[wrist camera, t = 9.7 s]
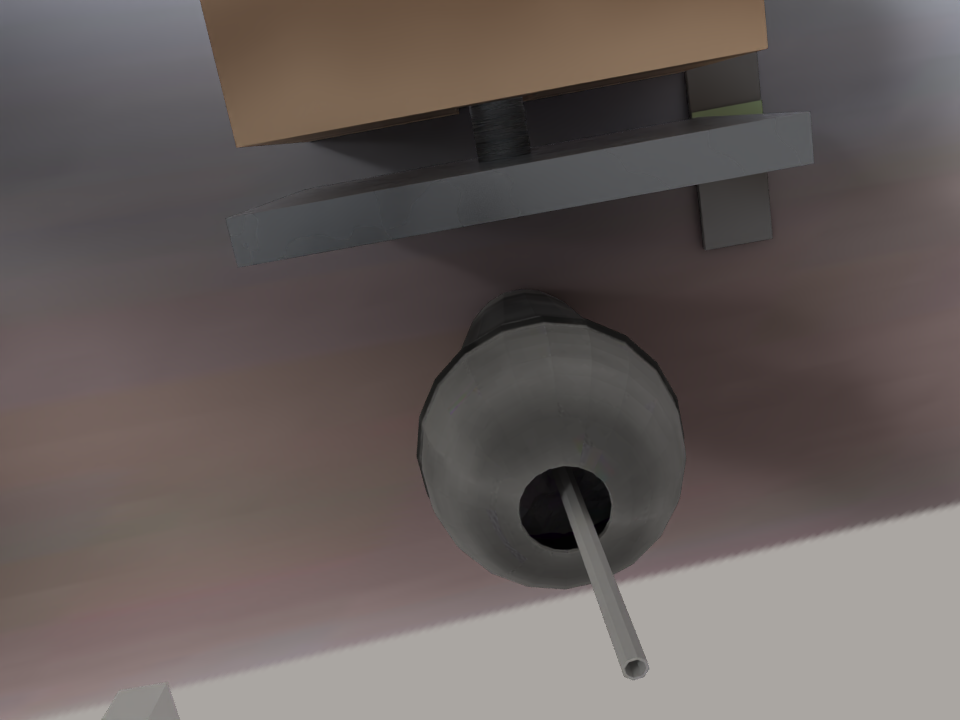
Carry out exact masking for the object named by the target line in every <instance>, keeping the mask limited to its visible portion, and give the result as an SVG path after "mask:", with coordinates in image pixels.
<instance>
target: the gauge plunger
mask: <svg viewBox="0 0 960 720" xmlns="http://www.w3.org/2000/svg"><path fill="white" fill-rule="evenodd" d="M469 109H470V115H471V121H472V127H473V132H474V138H475V144H476V149H477V155H478V158H473V159H468V160H462V161H457V162H452V163H446V164H441V165H435V166H430V167H424V168H419V169H414V170H408V171H403V172H397V173H392V174H386V175H381V176H375V177H370V178H365V179H359V180H354V181H348V182H343V183H337V184H332V185H327V186H321V187H316V188H310V189H305V190H302V191H300V192H297V193H294V194H291V195H289V196H286V197H283V198H280V199H278V200H275V201H272V202H269V203H267V204H264V205H261V206H258V207H256V208H253V209H250V210H247V211H245V212H242V213H239V214H236V215H234V216H231V217H228V218H225V219H226V223H227V227H228V231H229V235H230V239H231V243H232V247H233V251H234V254H235V258H236V262H237V266H238V268H239V267H244V266H250V265H255V264H261V263H266V262H272V261H277V260H283V259H288V258H294V257H299V256H305V255H310V254H316V253H322V252H327V251H333V250H338V249H344V248H349V247H355V246H360V245H366V244H371V243H377V242H382V241H388V240H393V239H399V238H404V237H410V236H415V235H421V234H427V233H432V232H438V231H443V230H449V229H454V228H460V227H465V226H471V225H476V224H482V223H487V222H493V221H498V220H504V219H509V218H515V217H521V216H526V215H532V214H537V213H543V212H548V211H554V210H559V209H565V208H570V207H576V206H581V205H587V204H592V203H598V202H603V201H609V200H614V199H620V198H626V197H631V196H637V195H642V194H648V193H653V192H659V191H664V190H670V189H675V188H681V187H686V186H692V185H697V184H703V183H708V182H714V181H720V180H725V179H731V178H736V177H742V176H747V175H753V174H758V173H764V172H769V171H775V170H780V169H786V168H791V167H797V166H802V165H808V164H814V155H813V141H812V127H811V113H810V111H807V112H787V113H767V114H748V115H728V116H708V117H696V118H691V119H685V120H680V121H674V122H669V123H664V124H658V125H653V126H647V127H642V128H636V129H631V130H625V131H620V132H615V133H609V134H604V135H598V136H593V137H587V138H582V139H577V140H571V141H566V142H560V143H555V144H549V145H544V146H539V147H533V148H530V143H529V136H528V130H527V124H526V117H525V111H524V105H523V98H522V96H521V97H516V98H510V99H505V100H500V101H494V102H489V103H484V104H478V105H473V106H469Z"/></svg>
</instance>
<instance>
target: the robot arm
mask: <svg viewBox="0 0 960 720" xmlns="http://www.w3.org/2000/svg"><path fill="white" fill-rule="evenodd" d="M102 720H180V718H179V715H178V713H177V709H176V706H175V703H174V700H173V697H172V694H171V691H170V688H169V685H168V682H165V683H159V684H153V685H148V686H142V687H136V688H130V689H124V690H119V691H118V693H117V695H116V696H115V698H114V700H113V701H112V703H111V705H110V706H109V708H108V710H107V711H106V713H105V715H104V716H103V718H102Z"/></svg>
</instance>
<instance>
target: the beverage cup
mask: <svg viewBox="0 0 960 720" xmlns="http://www.w3.org/2000/svg"><path fill="white" fill-rule="evenodd" d="M417 459H418V463H419V467H420V470H421V474H422V478H423V481H424V485H425V488H426V492H427V495H428V497H429V498H430V501H431V504H432V507H433V510H434V512H435V514H436V516H437V517H438V519H439V520H440V522H441V523H442V525H443V526H444V527H445V529H446V530H447V532H448V533H449V535H450V536H451V538H452V539H453V541H454V542H455V544H456V545H457V546H458V547H459V548H460V549H461V550H462V551H463V552H465V553H466V554H467V555H469V556H470V557H471V558H472V559H474V560H475V561H476V562H478V563H479V564H480V565H481V566H483V567H484V568H485V569H487V570H488V571H489V572H491V573H492V574H495V575H498V576H500V577H503V578H506V579H508V580H511V581H514V582H516V583H519V584H522V585H524V586H528V587H540V588H554V589H569V588H574V587H578V586H583V585H588V584H592V587H593V590H594V593H595V595H596V598H597V601H598V604H599V607H600V609H601V612H602V615H603V618H604V621H605V624H606V627H607V629H608V632H609V635H610V638H611V641H612V644H613V646H614V649H615V652H616V655H617V658H618V661H619V663H620V666H621V669H622V672H623V675H624V677H626V678H629V679H631V680H636V679H639V678H642V677H644V676H645V674H646V673H647V672H648V670H649V666H648V663H647V660H646V657H645V655H644V652H643V650H642V647H641V644H640V642H639V639H638V637H637V634H636V632H635V629H634V627H633V624H632V622H631V619H630V617H629V614H628V612H627V609H626V606H625V604H624V601H623V599H622V596H621V594H620V591H619V589H618V586H617V583H616V581H615V578H614V576H613V575H614V574H615V573H617V572H619V571H621V570H623V569H625V568H627V567H628V566H630V565H632V564H633V563H635V562H636V561H637V560H638V559H639V558H640V557H641V556H642V555H643V554H644V553H645V552H646V551H647V550H648V549H649V548H650V547H651V546H652V545H653V544H654V543H655V542H656V541H657V540H658V539H659V538H660V536H661V535H662V533H663V531H664V529H665V527H666V525H667V523H668V521H669V519H670V517H671V515H672V513H673V511H674V510H675V508H676V506H677V504H678V501H679V498H680V494H681V488H682V481H683V475H684V469H685V462H686V452H685V445H684V433H683V428H682V422H681V417H680V411H679V406H678V400H677V397H676V395H675V393H674V392H673V390H672V388H671V386H670V385H669V383H668V381H667V379H666V378H665V376H664V374H663V372H662V371H661V369H660V367H659V365H658V364H657V362H656V361H654V360H653V359H652V358H651V357H650V356H649V355H648V354H646V353H645V352H644V351H643V350H642V349H641V348H640V347H638V346H637V345H636V344H635V343H634V342H633V341H632V340H630V339H629V338H628V337H627V336H626V335H624V334H621V333H619V332H616V331H614V330H611V329H609V328H607V327H604V326H602V325H599V324H597V323H595V322H592V321H590V320H587V319H583V318H582V317H581V316H580V315H579V314H577V313H576V312H575V311H574V310H573V309H571V308H570V307H569V306H568V305H567V304H566V303H564V302H563V301H562V300H559V299H557V298H556V297H554V296H551V295H549V294H546V293H544V292H542V291H539V290H527V289H519V290H515V291H511V292H506V293H503V294H502V295H500V296H498V297H497V298H495V299H493V300H492V301H490V302H488V304H487V305H486V306H485V307H484V308H483V309H482V310H481V312H480V313H479V314H478V315H477V317H476V318H475V319H474V321H473V322H472V325H471V327H470V329H469V332H468V334H467V336H466V339H465V341H464V344H463V346H462V348H461V350H460V351H459V353H458V354H457V355H456V356H455V357H454V358H453V359H452V361H451V362H450V363H449V364H448V365H447V366H446V367H445V368H444V370H443V371H442V372H441V373H440V374H439V375H438V376H437V378H436V379H435V381H434V383H433V385H432V388H431V390H430V392H429V395H428V397H427V400H426V402H425V404H424V407H423V409H422V411H421V414H420V416H419V429H418V443H417Z"/></svg>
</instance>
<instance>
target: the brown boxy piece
mask: <svg viewBox="0 0 960 720" xmlns="http://www.w3.org/2000/svg"><path fill="white" fill-rule="evenodd" d="M200 2H201V7H202V11H203V15H204V19H205V23H206V27H207V31H208V35H209V39H210V43H211V47H212V51H213V55H214V59H215V63H216V67H217V71H218V75H219V79H220V83H221V87H222V91H223V95H224V99H225V103H226V107H227V111H228V115H229V119H230V123H231V127H232V131H233V135H234V139H235V143H236V148H238V147H250V146H262V145H275V144H287V143H299V142H310V141H315V140H321V139H326V138H331V137H337V136H342V135H347V134H353V133H358V132H363V131H369V130H374V129H380V128H385V127H390V126H396V125H401V124H406V123H412V122H417V121H423V120H428V119H433V118H439V117H444V116H449V115H455V114H459V109H458V108H462V107H468V106H473V105H478V104H484V103H489V102H494V101H500V100H505V99H510V98H516V97H521V96H522V98H523V102H525V101H530V100H535V99H541V98H546V97H551V96H557V95H562V94H568V93H573V92H578V91H584V90H589V89H594V88H600V87H605V86H611V85H616V84H621V83H627V82H632V81H637V80H643V79H648V78H653V77H659V76H664V75H670V74H675V73H679V72H683V71H685V79H686V88H687V97H688V106H689V116H690V119H691V118H696V117H708V116H728V115H748V114H763V108H762V100H761V95H760V84H759V72H758V60H757V51H760V50H764V49H768V42H767V30H766V18H765V6H764V0H200ZM697 190H698V199H699V209H700V218H701V227H702V236H703V246H704V250H711V249H717V248H722V247H728V246H733V245H739V244H745V243H750V242H756V241H762V240H767V239H773V236H772V224H771V212H770V201H769V189H768V177H767V172H764V173H758V174H753V175H747V176H742V177H736V178H731V179H725V180H720V181H714V182H708V183H703V184H697Z"/></svg>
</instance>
